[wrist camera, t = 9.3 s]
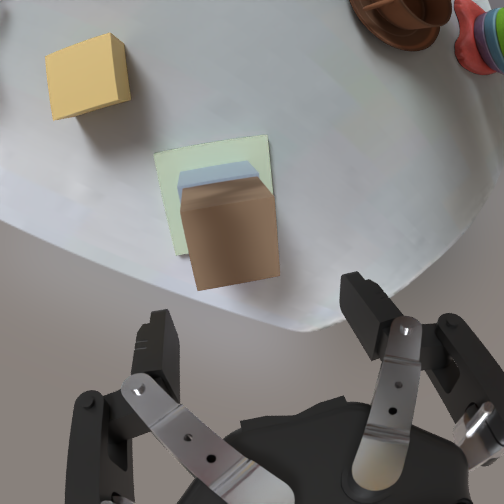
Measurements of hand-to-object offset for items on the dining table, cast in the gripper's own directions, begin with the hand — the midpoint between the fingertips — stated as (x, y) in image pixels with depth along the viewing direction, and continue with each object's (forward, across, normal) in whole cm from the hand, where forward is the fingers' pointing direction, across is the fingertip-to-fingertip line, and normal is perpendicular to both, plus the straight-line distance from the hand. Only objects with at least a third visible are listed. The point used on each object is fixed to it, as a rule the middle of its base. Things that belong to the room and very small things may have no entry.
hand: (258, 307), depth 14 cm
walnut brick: (+11, 0, 0) cm, 11 cm away
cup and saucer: (+18, -20, -19) cm, 33 cm away
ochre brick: (+17, +10, -13) cm, 23 cm away
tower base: (+17, +1, 0) cm, 17 cm away
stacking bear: (+18, -35, -18) cm, 43 cm away
